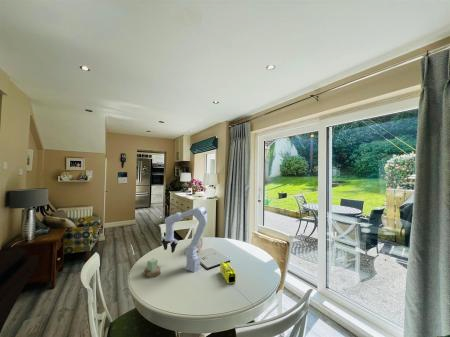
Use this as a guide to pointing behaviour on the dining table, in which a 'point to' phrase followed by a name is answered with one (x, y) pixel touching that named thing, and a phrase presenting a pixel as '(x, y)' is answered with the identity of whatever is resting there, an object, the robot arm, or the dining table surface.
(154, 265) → the sage block
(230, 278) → the yellow toy chassis
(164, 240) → the robot arm
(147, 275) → the walnut plinth
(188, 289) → the dining table surface
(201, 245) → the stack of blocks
